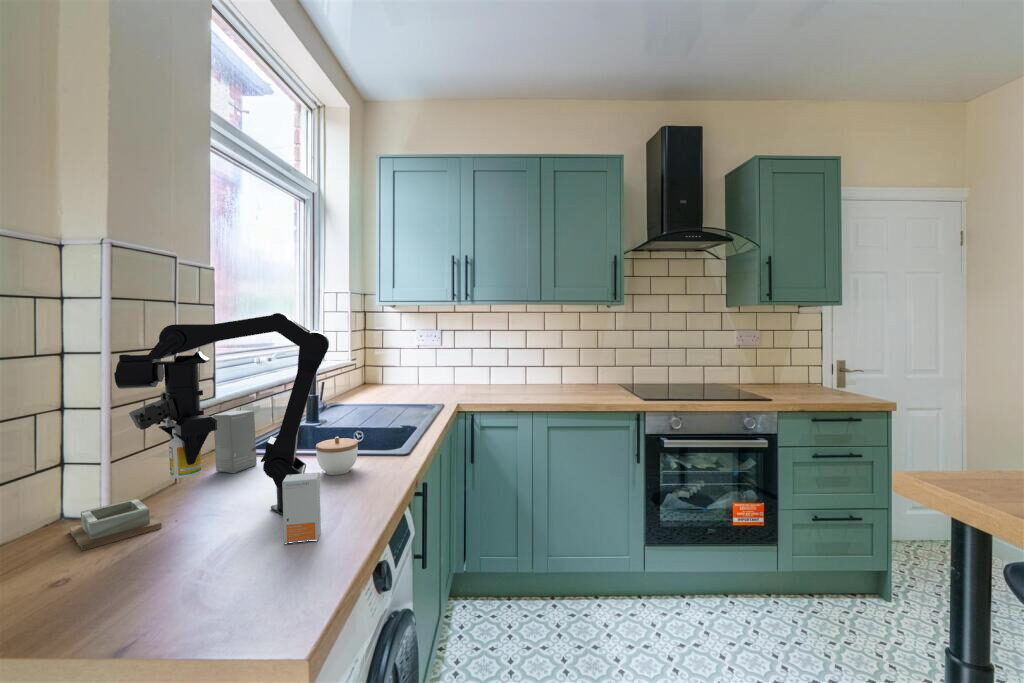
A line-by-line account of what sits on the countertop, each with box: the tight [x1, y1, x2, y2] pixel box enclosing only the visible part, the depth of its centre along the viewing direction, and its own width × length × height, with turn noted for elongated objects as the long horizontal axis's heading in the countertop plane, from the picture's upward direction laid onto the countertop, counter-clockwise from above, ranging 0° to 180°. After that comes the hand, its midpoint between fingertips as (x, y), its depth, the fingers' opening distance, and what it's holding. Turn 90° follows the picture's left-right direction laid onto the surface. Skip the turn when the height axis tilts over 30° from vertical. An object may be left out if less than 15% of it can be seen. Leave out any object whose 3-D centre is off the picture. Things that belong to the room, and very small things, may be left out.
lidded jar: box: [315, 436, 359, 476], centre depth 130 cm, size 11×11×9 cm
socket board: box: [69, 498, 163, 551], centre depth 95 cm, size 12×12×4 cm
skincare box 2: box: [282, 471, 322, 544], centre depth 91 cm, size 6×4×12 cm
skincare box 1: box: [212, 410, 258, 474], centre depth 134 cm, size 8×7×16 cm
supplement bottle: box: [168, 428, 203, 479], centre depth 98 cm, size 5×5×10 cm
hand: (185, 461), depth 98 cm, fingers closed on supplement bottle, 5 cm apart
